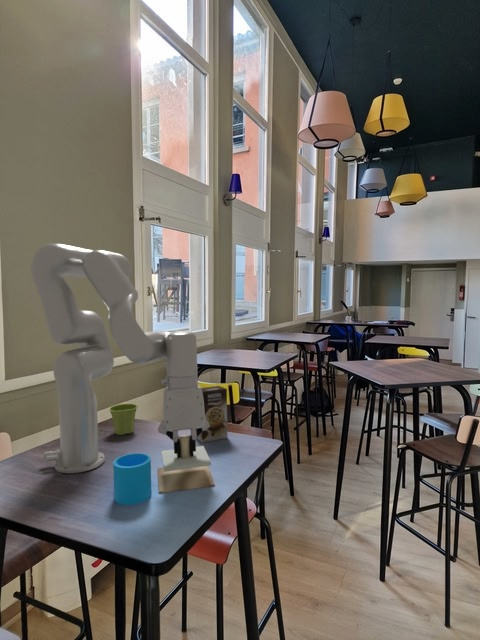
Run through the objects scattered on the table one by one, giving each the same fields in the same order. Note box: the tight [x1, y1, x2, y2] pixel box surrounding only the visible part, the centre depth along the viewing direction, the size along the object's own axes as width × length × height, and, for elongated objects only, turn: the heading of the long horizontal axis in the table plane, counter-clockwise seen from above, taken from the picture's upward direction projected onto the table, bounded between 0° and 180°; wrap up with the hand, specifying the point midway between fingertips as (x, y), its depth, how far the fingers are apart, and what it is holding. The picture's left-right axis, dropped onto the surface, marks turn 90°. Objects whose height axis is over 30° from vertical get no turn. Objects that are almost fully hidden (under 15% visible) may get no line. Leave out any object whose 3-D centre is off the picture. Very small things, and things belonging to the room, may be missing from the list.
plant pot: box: [108, 403, 138, 436], centre depth 128 cm, size 9×9×9 cm
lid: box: [161, 434, 212, 472], centre depth 93 cm, size 11×11×6 cm
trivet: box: [157, 466, 216, 494], centre depth 94 cm, size 13×13×1 cm
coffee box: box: [196, 385, 228, 443], centre depth 121 cm, size 9×6×16 cm
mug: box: [112, 452, 153, 506], centre depth 87 cm, size 12×8×8 cm
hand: (185, 454), depth 93 cm, fingers closed on lid, 2 cm apart
